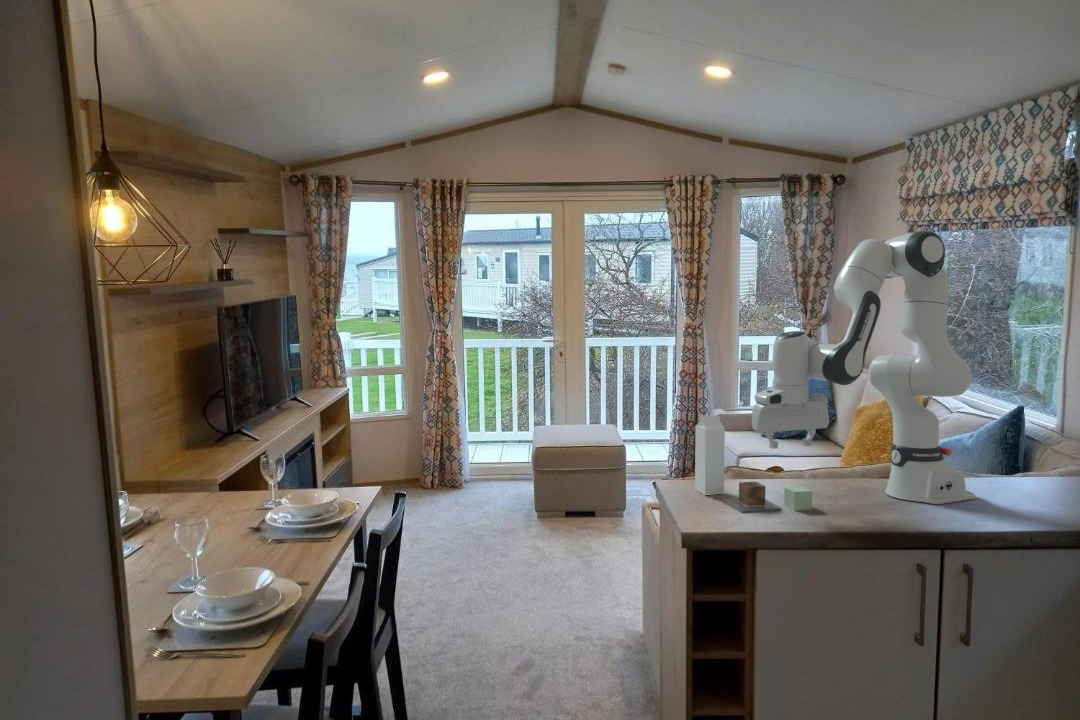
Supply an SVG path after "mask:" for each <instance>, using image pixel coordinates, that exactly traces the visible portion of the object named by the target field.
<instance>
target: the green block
mask: <svg viewBox="0 0 1080 720" xmlns="http://www.w3.org/2000/svg"><path fill="white" fill-rule="evenodd" d="M783 496H784V497H783V498H784V499H783V500H784V503H783V504H784V505H785V507H786V508H788V509H789V510H792V511H793V510H794V511H793V512H797V511H798V510H799V511H812V510H813V491H812V490H811V489H809V488H807V487H804V486H803V485H799V486H797V485H796V486H785V487H784V494H783ZM784 505H783V506H784ZM811 509H812V510H811Z"/></svg>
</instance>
